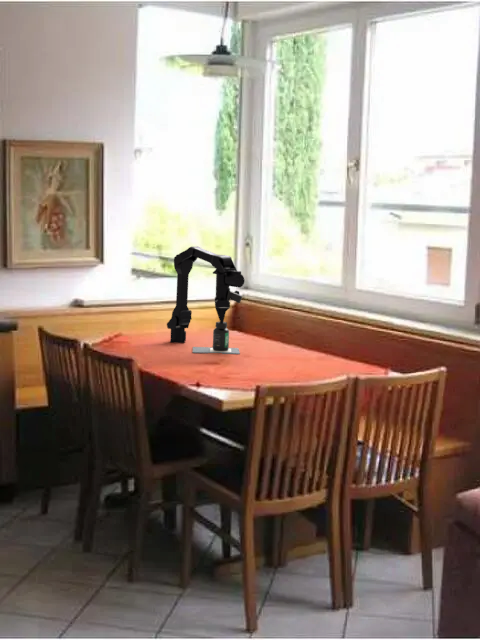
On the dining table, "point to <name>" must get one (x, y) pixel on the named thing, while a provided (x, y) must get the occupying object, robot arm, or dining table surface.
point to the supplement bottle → (221, 337)
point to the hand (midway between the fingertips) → (221, 321)
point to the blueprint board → (210, 350)
